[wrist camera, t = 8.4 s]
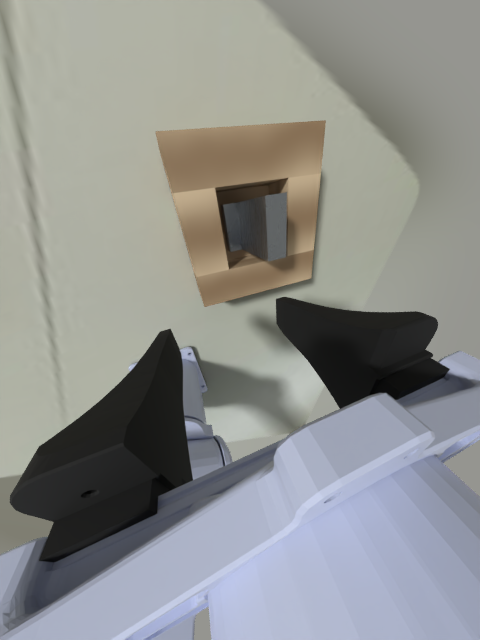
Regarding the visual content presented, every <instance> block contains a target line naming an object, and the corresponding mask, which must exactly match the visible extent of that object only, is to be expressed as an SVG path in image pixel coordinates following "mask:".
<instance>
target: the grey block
mask: <svg viewBox="0 0 480 640" xmlns="http://www.w3.org/2000/svg"><path fill="white" fill-rule="evenodd" d="M221 211H222V217H223V223H224V229H225V235H226V241H227V247H228V251H230V252H233V251H237V250H244V251H247V252H249V253H251V254H253V255H255V256H257V257H260V258H262V259H264V260H266V261H273V260H277V259H281V258H285V257H286V230H287V192H286V193H279V194H273V195H266V196H262V197H258V198H254V199H249V200H245V201H241V202H237V203H231V204H225V205H221Z"/></svg>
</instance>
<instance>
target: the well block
mask: <svg viewBox="0 0 480 640" xmlns="http://www.w3.org/2000/svg"><path fill="white" fill-rule="evenodd" d="M325 123H326V121H310V122H295V123H279V124H264V125H248V126H233V127H217V128H202V129H187V130H171V131H156V136H157V141H158V145H159V150H160V154H161V158H162V161H163V165H164V168H165V172H166V175H167V179H168V182H169V186H170V189H171V193H172V196H173V200H174V204H175V207H176V211H177V214H178V218H179V221H180V225H181V228H182V232H183V235H184V239H185V242H186V246H187V249H188V253H189V256H190V260H191V263H192V267H193V271H194V274H195V278H196V281H197V285H198V288H199V292H200V295H201V298H202V301H203V303H204V306H205V307H207V306H210V305H214V304H218V303H221V302H225V301H229V300H233V299H236V298H240V297H244V296H248V295H251V294H255V293H259V292H262V291H266V290H270V289H274V288H277V287H281V286H285V285H288V284H292V283H296V282H300V281H303V280H307V279H311V275H312V264H313V253H314V242H315V231H316V221H317V210H318V199H319V188H320V177H321V166H322V155H323V144H324V133H325ZM286 192H287V230H286V257H285V258H281V259H277V260H273V261H266V260H264V259H262V258H260V257H257V256H255V255H253V254H251V253H249V252H247V251H244V250H237V251H233V252H230V251H228V247H227V241H226V235H225V229H224V223H223V217H222V211H221V205H225V204H231V203H237V202H241V201H245V200H249V199H254V198H258V197H262V196H266V195H273V194H279V193H286Z"/></svg>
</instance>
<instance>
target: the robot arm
mask: <svg viewBox="0 0 480 640" xmlns="http://www.w3.org/2000/svg"><path fill="white" fill-rule="evenodd" d="M276 318H277V325H278V326H279V328H280V329H281V331H282V332H283V334H284V335H285V336H286V337H287V338H288V339H289V340H290V341H291V342H292V344H293V345H294V346H295V347H296V348H297V349H298V350H299V351H300V352H301V353H302V354H303V355H304V357H305V358H306V359H307V360H308V362H309V363H310V364H311V366H312V367H313V368H314V370H315V371H316V372H317V374H318V375H319V377H320V378H321V380H322V381H323V382H324V384H325V385H326V387H327V388H328V390H329V392H330V393H331V395H332V396H333V398H334V400H335V401H336V403H337V405H338V406H339V408H340V409H339V410H337V411H334V412H332V413H330V414H328V415H325V416H323V417H321V418H319V419H317V420H314V421H312V422H310V423H308V424H305V425H304V426H302V427H300V428H298V429H297V430H295V431H293V432H292V433H290V434H289V435H288V436H287V437H286V438H285V439H282V440H281V441H278V442H276V443H274V444H272V445H269V446H267V447H265V448H263V449H260V450H258V451H256V452H254V453H252V454H250V455H247V456H245V457H243V458H241V459H239V460H237V461H235V462H232V457H231V454H230V451H229V449H228V447H227V445H226V443H225V442H224V440H223V439H222V438H221V437H220V436H217V435H215V436H213V430H212V425H207V424H206V417H205V411H204V405H203V398H202V393H204V392H206V391H207V386H206V383H205V381H204V378H203V375H202V373H201V370H200V367H199V365H198V362H197V360H196V357H195V354H194V352H193V349H192V348H191V347H186V348H183V349H179V347H178V345H177V343H176V340H175V338H174V336H173V333H172V331H171V329H168V330H164V331H161V332H160V333H159V334H158V336H157V337H156V338H155V340H154V341H153V343H152V344H151V346H150V347H149V349H148V350H147V351H146V353H145V354H144V355H143V357H142V358H141V359H140V360H139V362H138V363H134V364H131V365H130V366H129V370H130V372H129V374H128V375H127V376H126V377H125V378H124V379H123V380H122V381H121V382H120V383H119V384H118V385H117V386H116V387H115V388H114V389H112V390H111V391H110V392H109V393H108V394H107V395H106V396H105V397H104V398H103V399H102V400H100V401H99V402H98V403H97V404H96V405H94V406H93V407H92V408H91V409H90V410H88V411H87V412H86V413H85V414H83V415H82V416H81V417H80V418H78V419H77V420H76V421H74V422H73V423H72V424H70V425H69V426H67V427H66V428H65V429H63V430H62V431H61V432H59V433H58V434H56V435H55V436H54V437H52V438H51V439H49V440H48V441H47V442H45V443H44V444H42V445H41V446H39V448H38V449H37V451H36V453H35V454H34V456H33V458H32V460H31V461H30V463H29V465H28V466H27V468H26V470H25V471H24V473H23V475H22V477H21V478H20V480H19V482H18V483H17V485H16V487H15V488H14V490H13V492H12V494H11V495H10V503H11V505H12V506H13V508H14V509H15V510H17V511H19V512H21V513H24V514H27V515H31V516H35V517H38V518H42V519H46V520H49V521H53V522H54V524H53V526H52V529H51V531H50V534H49V536H48V537H42V538H37V539H34V540H31V541H29V542H27V543H25V544H22V545H20V546H18V547H15V548H13V549H11V550H9V551H6V552H5V553H2V554H0V640H194V625H195V624H194V623H195V617H196V614H197V613H198V612H200V611H202V610H204V609H205V608H207V607H209V614H210V615H209V616H210V627H211V639H212V640H480V497H479V496H478V495H477V494H476V493H475V492H474V491H473V490H472V489H471V488H470V487H468V486H467V485H466V484H465V483H464V482H463V481H462V480H461V479H460V478H459V477H458V476H457V475H455V474H454V473H453V472H452V471H451V470H450V469H449V468H448V467H447V466H446V465H444V464H443V463H444V462H445V461H447V460H448V459H450V458H452V457H453V456H455V455H456V454H458V453H460V452H461V451H463V450H464V449H466V448H467V447H469V446H470V445H472V444H474V443H476V442H477V441H479V440H480V360H479V359H477V358H475V357H473V356H471V355H469V354H467V353H464V352H462V351H457V352H455V353H453V354H450V355H448V356H446V357H444V358H442V359H441V360H439V361H438V362H437V361H435V360H433V359H431V357H432V356H433V354H432V353H430V352H429V351H427V350H425V349H426V347H427V346H428V344H429V343H430V341H431V339H432V338H433V336H434V334H435V332H436V330H437V327H438V322H437V320H436V318H434V317H432V316H429V315H426V314H424V313H421V312H388V313H387V312H361V311H349V310H342V309H335V308H329V307H324V306H320V305H315V304H311V303H307V302H304V301H300V300H296V299H292V298H288V297H282V298H278V299H276ZM188 353H191V354H188ZM202 385H203V386H202Z"/></svg>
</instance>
